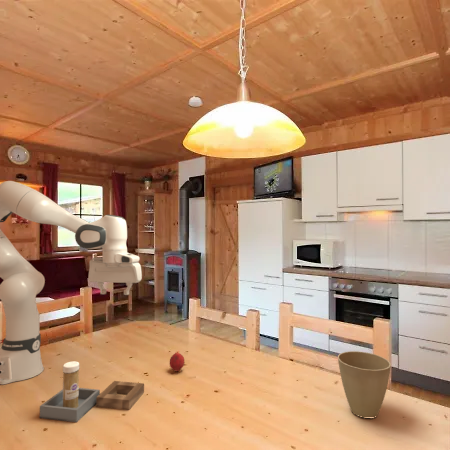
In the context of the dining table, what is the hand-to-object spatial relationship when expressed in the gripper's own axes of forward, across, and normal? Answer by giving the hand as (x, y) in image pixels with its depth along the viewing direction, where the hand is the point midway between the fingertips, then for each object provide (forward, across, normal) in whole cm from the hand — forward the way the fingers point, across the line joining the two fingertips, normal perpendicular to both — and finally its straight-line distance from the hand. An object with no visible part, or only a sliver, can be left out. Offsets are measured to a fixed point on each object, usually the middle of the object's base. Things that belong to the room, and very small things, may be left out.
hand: (114, 294), depth 122 cm
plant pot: (+32, +86, -8) cm, 93 cm away
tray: (+31, -3, -22) cm, 38 cm away
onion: (+32, +21, +9) cm, 39 cm away
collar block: (+31, +10, -14) cm, 36 cm away
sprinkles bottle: (+31, -3, -22) cm, 38 cm away
